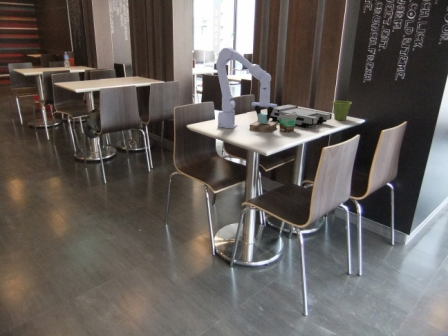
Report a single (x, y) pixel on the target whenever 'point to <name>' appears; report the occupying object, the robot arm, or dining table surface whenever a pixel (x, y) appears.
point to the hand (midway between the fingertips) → (263, 119)
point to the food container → (287, 122)
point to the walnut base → (263, 126)
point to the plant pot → (341, 109)
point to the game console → (301, 115)
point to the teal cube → (262, 118)
